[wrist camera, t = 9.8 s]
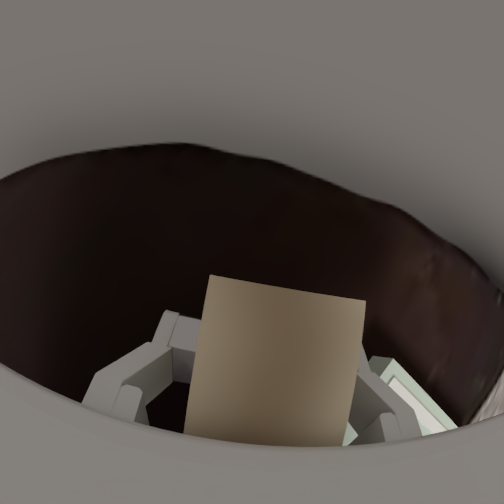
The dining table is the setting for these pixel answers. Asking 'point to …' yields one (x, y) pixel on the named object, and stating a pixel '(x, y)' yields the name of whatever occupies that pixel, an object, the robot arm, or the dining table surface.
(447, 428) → the sage board
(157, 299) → the dining table surface
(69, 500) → the robot arm
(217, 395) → the tan block
